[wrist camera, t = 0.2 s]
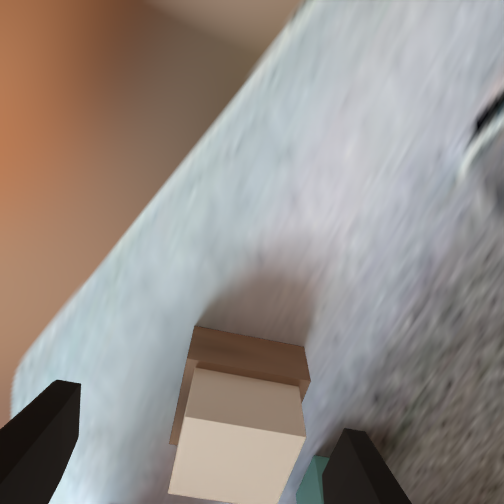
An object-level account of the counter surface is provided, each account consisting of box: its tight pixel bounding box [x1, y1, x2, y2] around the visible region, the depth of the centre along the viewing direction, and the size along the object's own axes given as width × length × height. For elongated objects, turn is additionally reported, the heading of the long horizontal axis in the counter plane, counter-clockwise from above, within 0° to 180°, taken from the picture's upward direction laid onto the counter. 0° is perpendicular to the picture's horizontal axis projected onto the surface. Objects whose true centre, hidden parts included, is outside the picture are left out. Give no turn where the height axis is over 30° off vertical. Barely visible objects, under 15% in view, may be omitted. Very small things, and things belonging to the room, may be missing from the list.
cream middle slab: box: [168, 368, 306, 504], centre depth 19 cm, size 6×6×3 cm
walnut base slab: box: [169, 326, 311, 445], centre depth 21 cm, size 6×6×3 cm
